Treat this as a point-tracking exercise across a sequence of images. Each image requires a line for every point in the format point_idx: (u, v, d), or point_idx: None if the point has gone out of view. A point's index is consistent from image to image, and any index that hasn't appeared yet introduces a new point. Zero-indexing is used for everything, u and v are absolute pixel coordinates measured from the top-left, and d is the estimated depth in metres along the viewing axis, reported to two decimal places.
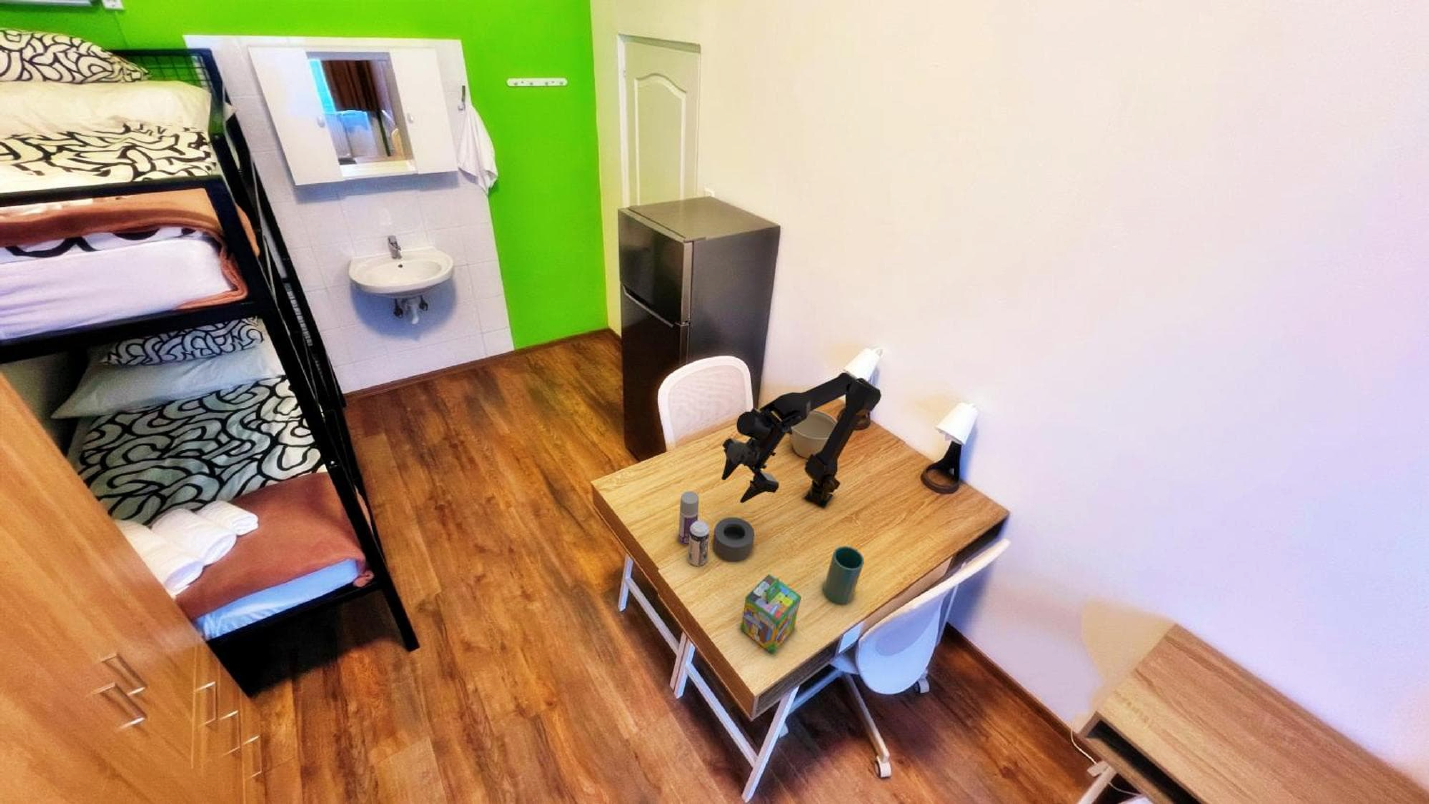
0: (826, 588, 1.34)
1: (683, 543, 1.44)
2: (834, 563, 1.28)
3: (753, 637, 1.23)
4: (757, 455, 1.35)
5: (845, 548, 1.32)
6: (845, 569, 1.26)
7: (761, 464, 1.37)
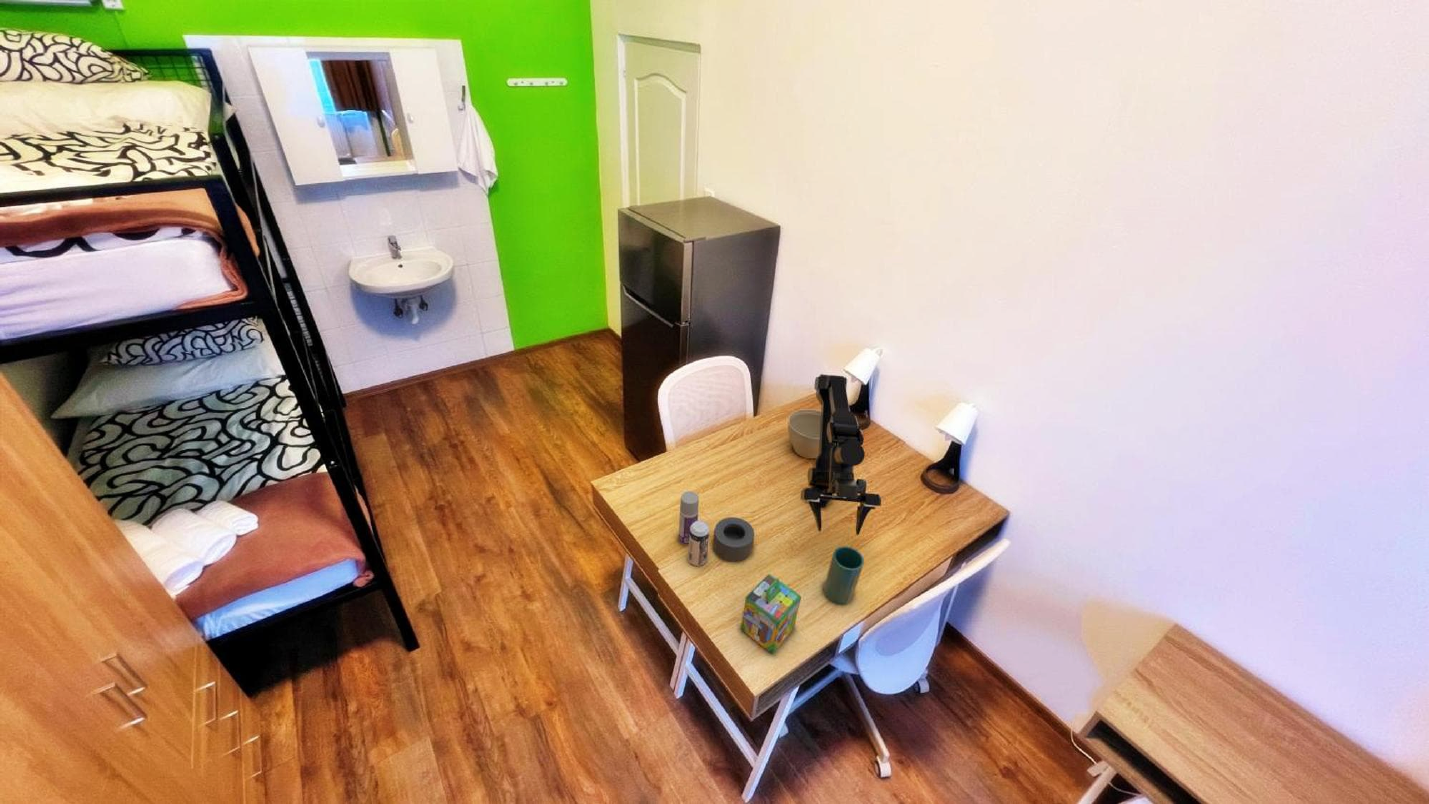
0: (826, 588, 1.34)
1: (683, 543, 1.44)
2: (834, 563, 1.28)
3: (753, 637, 1.23)
4: None
5: (845, 548, 1.32)
6: (845, 569, 1.26)
7: None
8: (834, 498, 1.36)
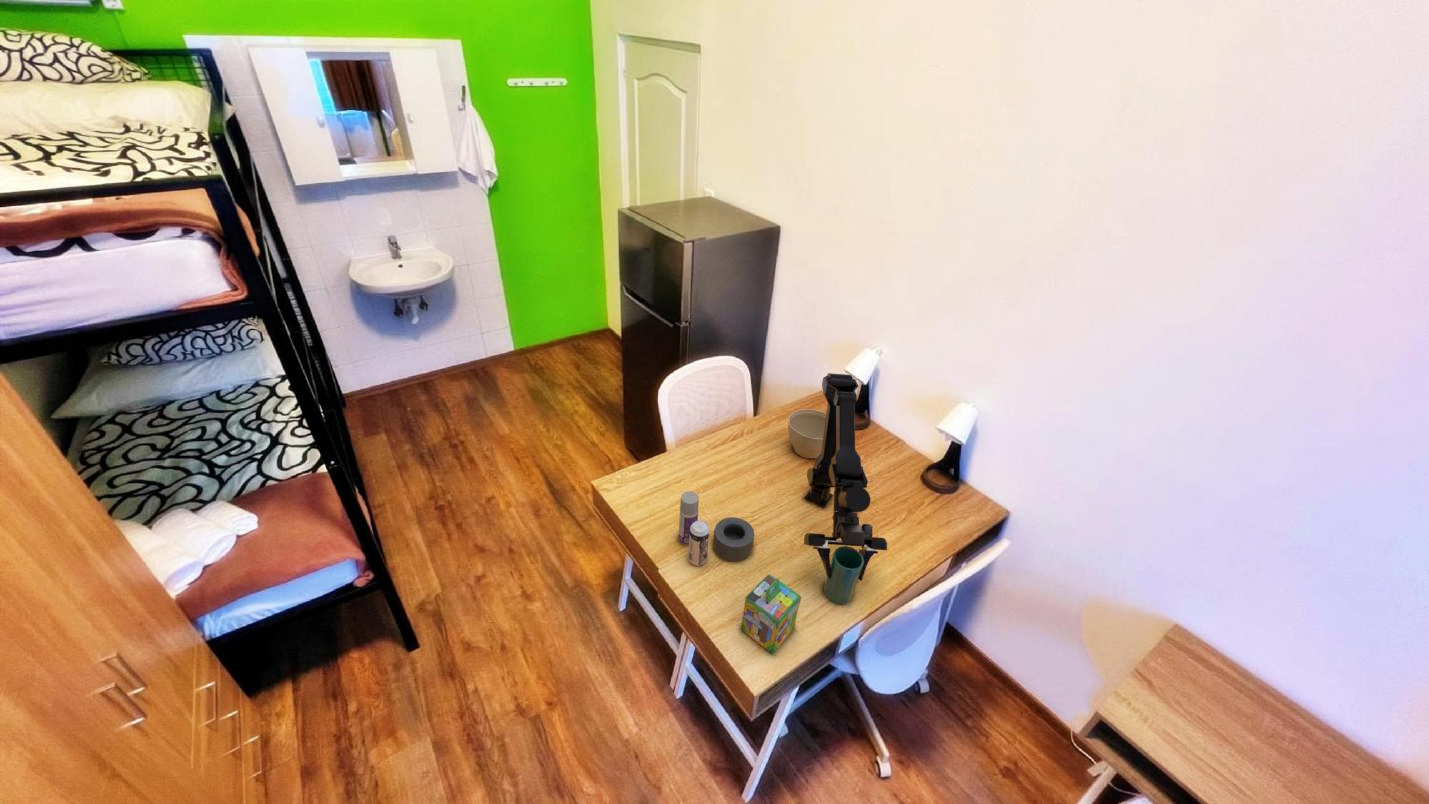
0: (826, 588, 1.34)
1: (683, 543, 1.44)
2: (834, 563, 1.28)
3: (753, 637, 1.23)
4: None
5: (845, 548, 1.32)
6: (846, 569, 1.26)
7: None
8: (839, 543, 1.32)
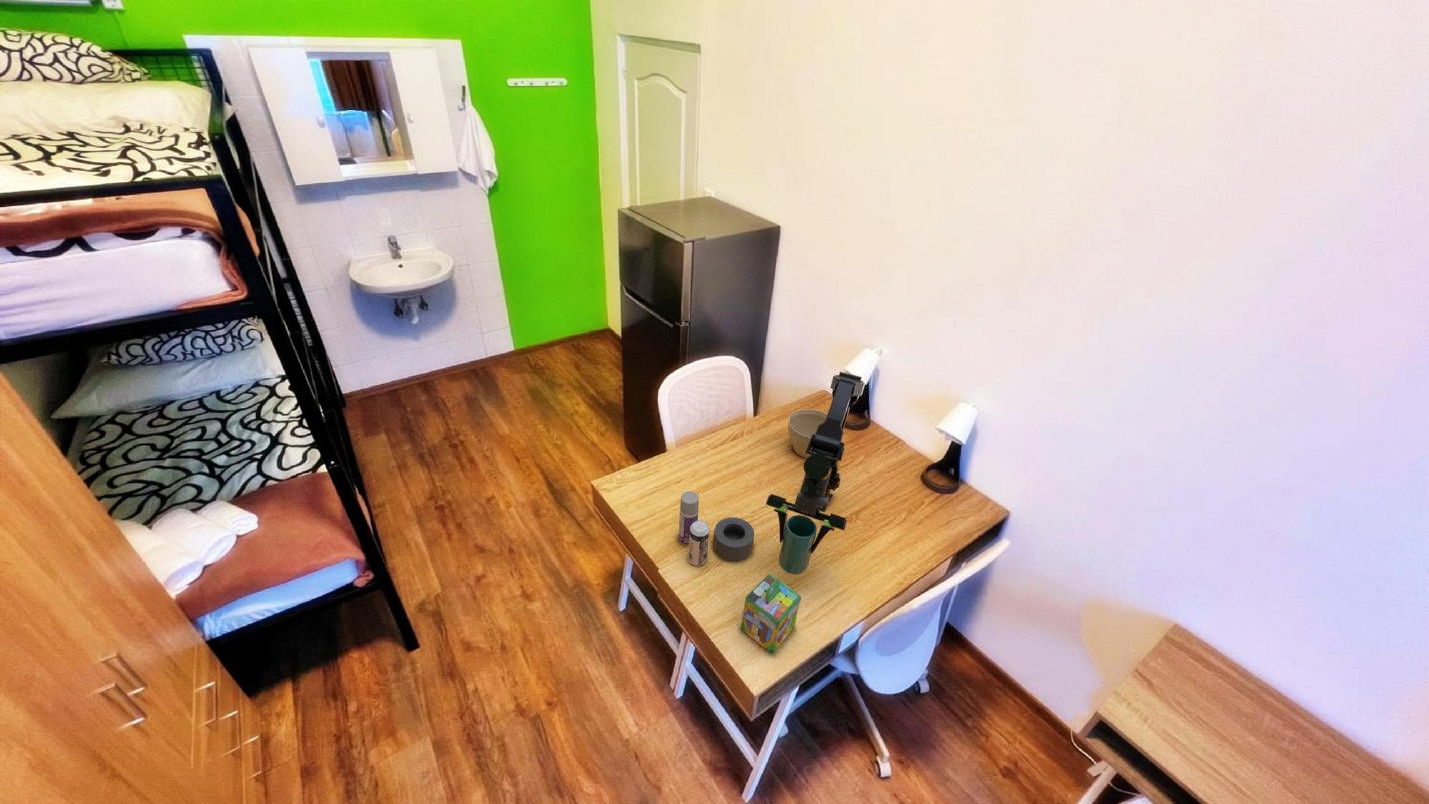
0: None
1: (683, 543, 1.44)
2: (785, 527, 1.27)
3: (753, 637, 1.23)
4: None
5: (804, 518, 1.29)
6: (792, 535, 1.25)
7: None
8: (799, 511, 1.30)
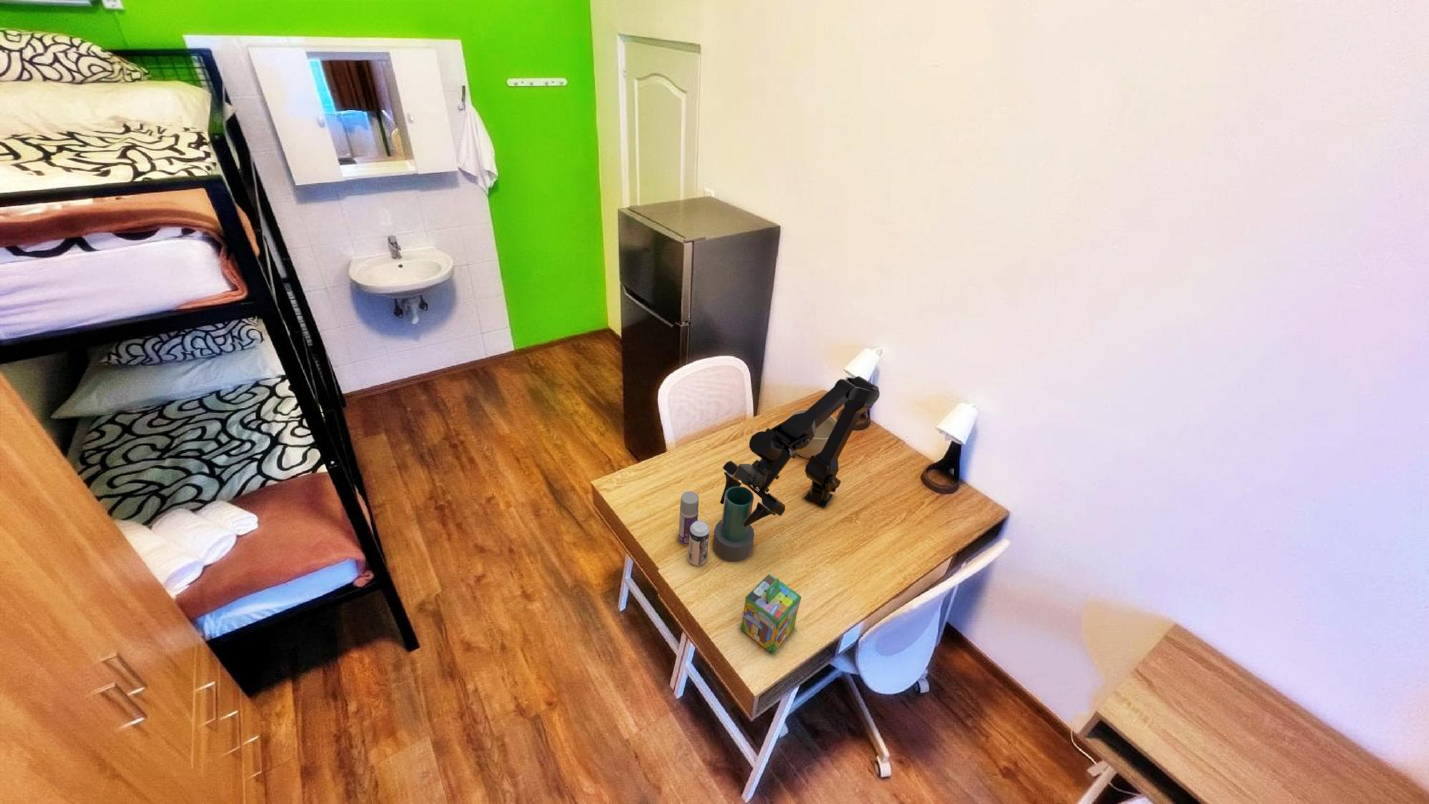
0: None
1: (683, 543, 1.44)
2: None
3: (753, 637, 1.23)
4: (765, 477, 1.34)
5: (748, 491, 1.37)
6: (725, 499, 1.34)
7: (766, 487, 1.36)
8: None
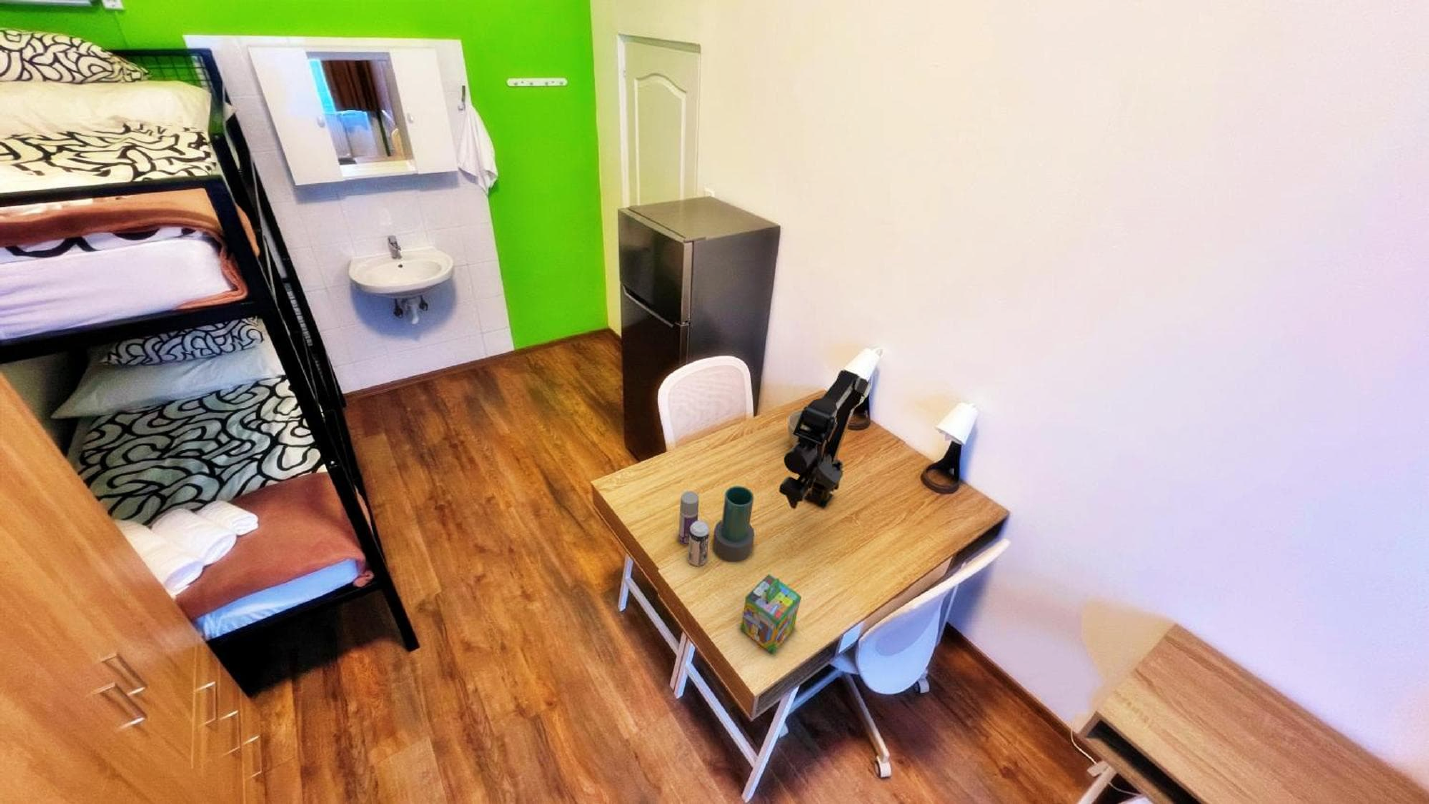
0: None
1: (683, 543, 1.44)
2: None
3: (753, 637, 1.23)
4: None
5: (748, 491, 1.37)
6: (725, 499, 1.34)
7: None
8: None
